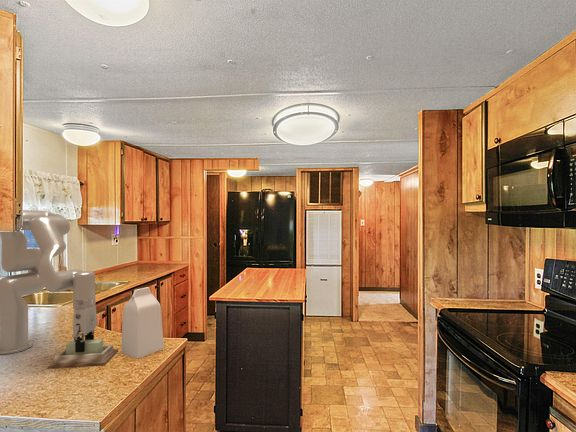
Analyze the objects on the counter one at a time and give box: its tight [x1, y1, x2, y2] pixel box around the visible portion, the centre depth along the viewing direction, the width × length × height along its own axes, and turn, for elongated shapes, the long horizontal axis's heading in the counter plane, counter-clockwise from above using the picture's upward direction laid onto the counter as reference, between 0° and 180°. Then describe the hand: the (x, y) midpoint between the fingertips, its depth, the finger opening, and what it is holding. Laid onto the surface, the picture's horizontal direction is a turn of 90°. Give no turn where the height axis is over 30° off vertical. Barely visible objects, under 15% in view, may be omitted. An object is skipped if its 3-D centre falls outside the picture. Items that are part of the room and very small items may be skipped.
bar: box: [65, 338, 104, 355], centre depth 131 cm, size 4×12×6 cm, turn 94°
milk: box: [120, 286, 165, 360], centre depth 139 cm, size 12×12×26 cm
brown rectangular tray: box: [47, 344, 119, 370], centre depth 130 cm, size 20×13×4 cm, turn 97°
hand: (84, 347), depth 130 cm, fingers open, 6 cm apart
